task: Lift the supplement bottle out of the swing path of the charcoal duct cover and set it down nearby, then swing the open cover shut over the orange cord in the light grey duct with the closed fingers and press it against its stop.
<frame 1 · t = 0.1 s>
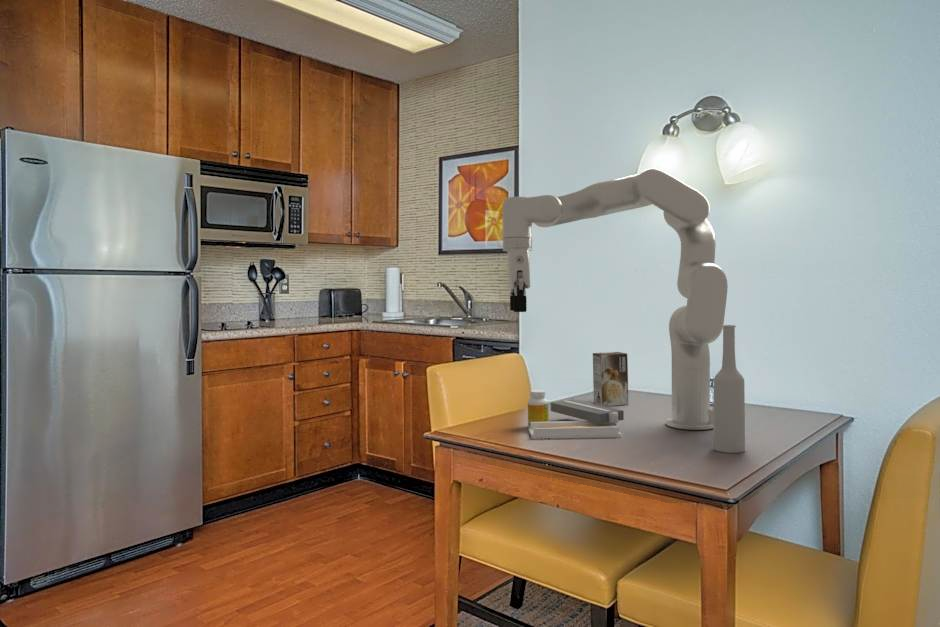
hand: (518, 311, 170), 31 cm above the table, fingers open, 9 cm apart
supplement bottle: (538, 428, 173), on the table
coffee box: (610, 404, 203), on the table
duct cover: (587, 410, 173), point 4 cm above the table, hinge at -60.0°
bottle: (728, 450, 147), on the table
duct base: (573, 433, 164), on the table
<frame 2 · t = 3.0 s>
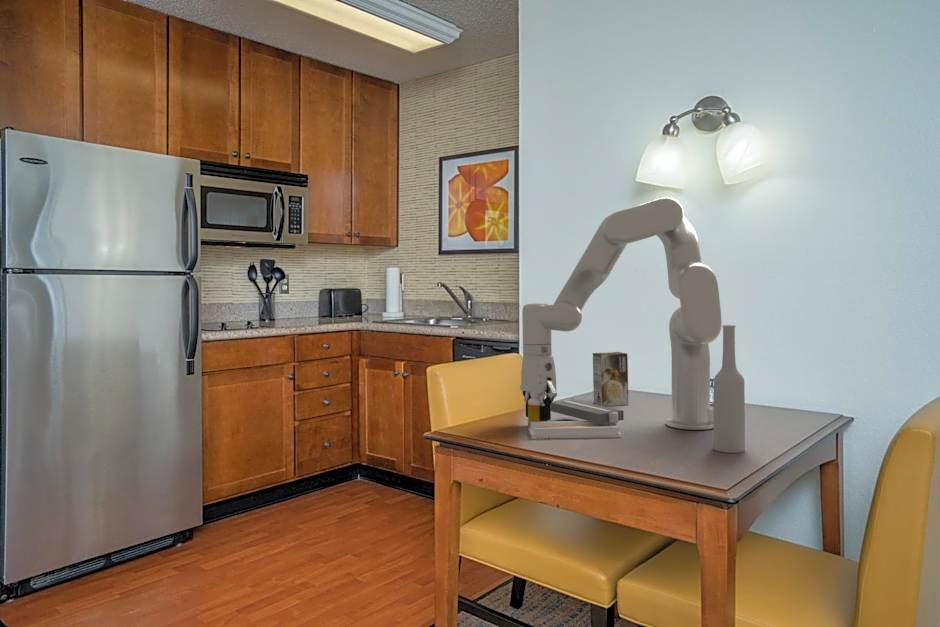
hand: (538, 417, 173), 3 cm above the table, fingers closed on supplement bottle, 5 cm apart
supplement bottle: (538, 427, 173), on the table, touching gripper
everything else where it was.
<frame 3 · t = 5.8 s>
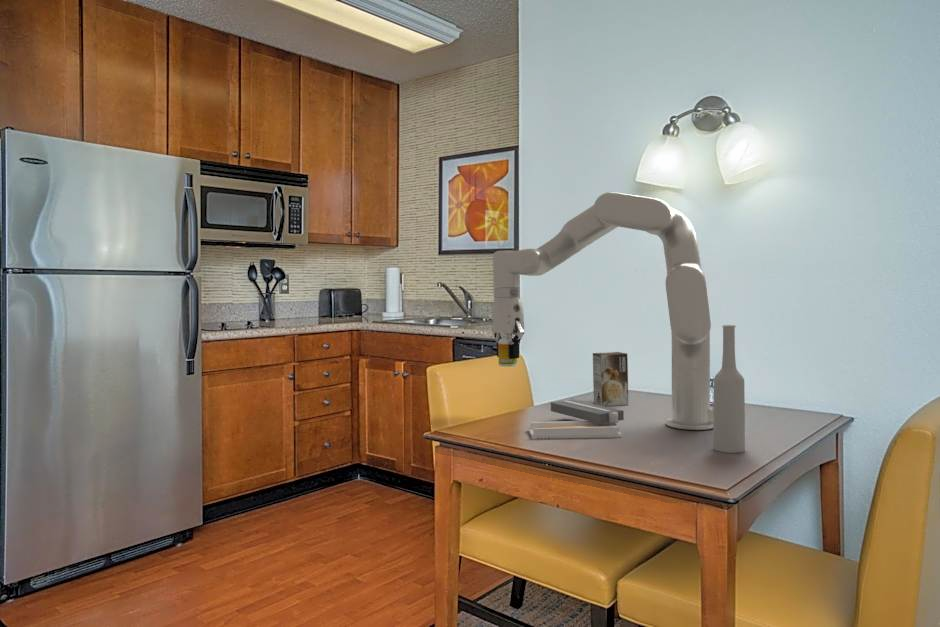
hand: (507, 356, 186), 17 cm above the table, fingers closed on supplement bottle, 5 cm apart
supplement bottle: (508, 366, 186), point 15 cm above the table, touching gripper
everything else where it was.
when the fingers open (3 cm above the table, at t = 8.8 s): supplement bottle stays where it is, on the table.
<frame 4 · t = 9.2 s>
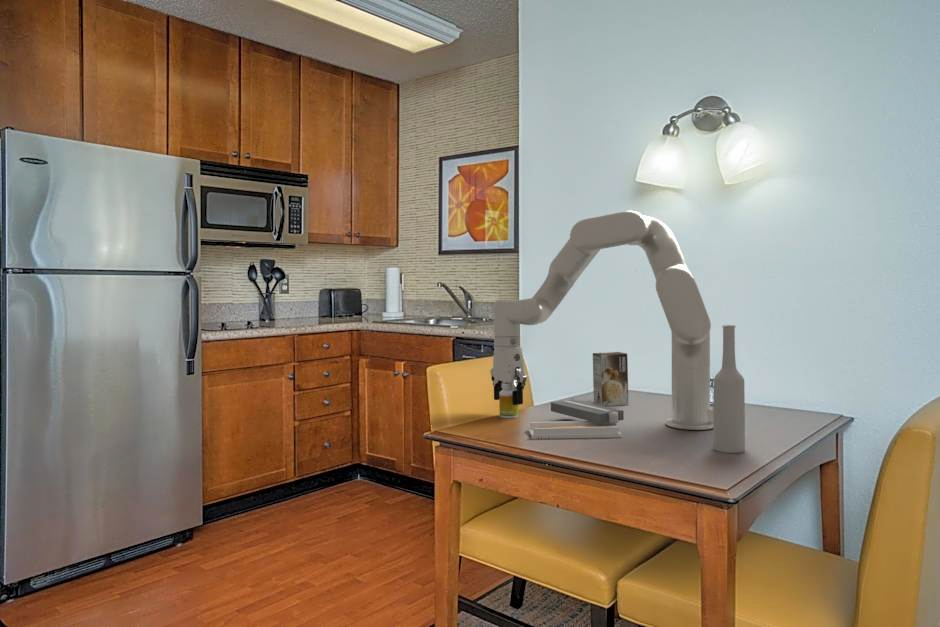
hand: (508, 401, 187), 4 cm above the table, fingers open, 9 cm apart
supplement bottle: (509, 417, 187), on the table
everything else where it was.
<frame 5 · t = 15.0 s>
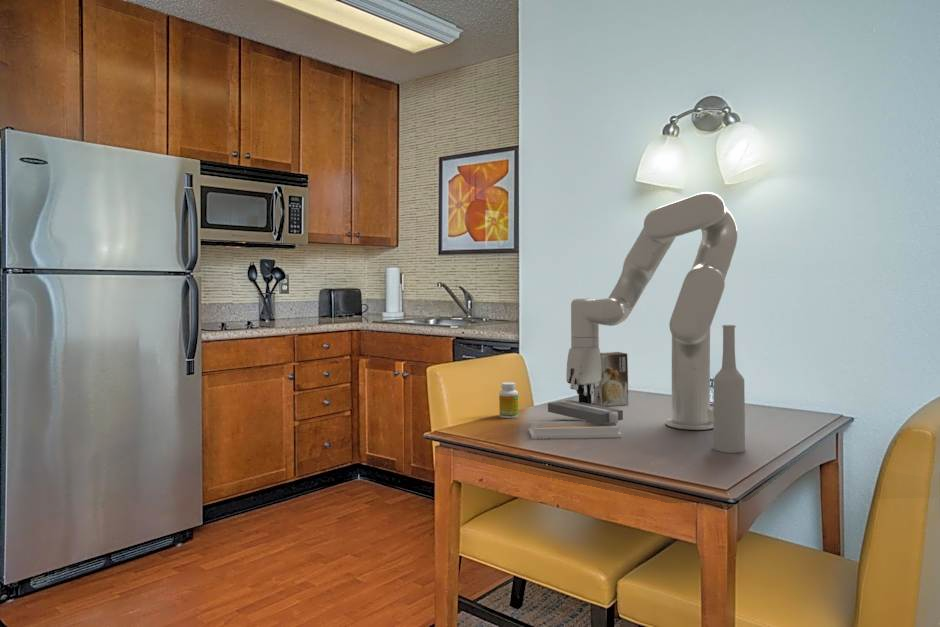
hand: (585, 408, 181), 3 cm above the table, fingers closed
duct cover: (586, 411, 172), point 4 cm above the table, hinge at -56.6°, touching gripper
everything else where it was.
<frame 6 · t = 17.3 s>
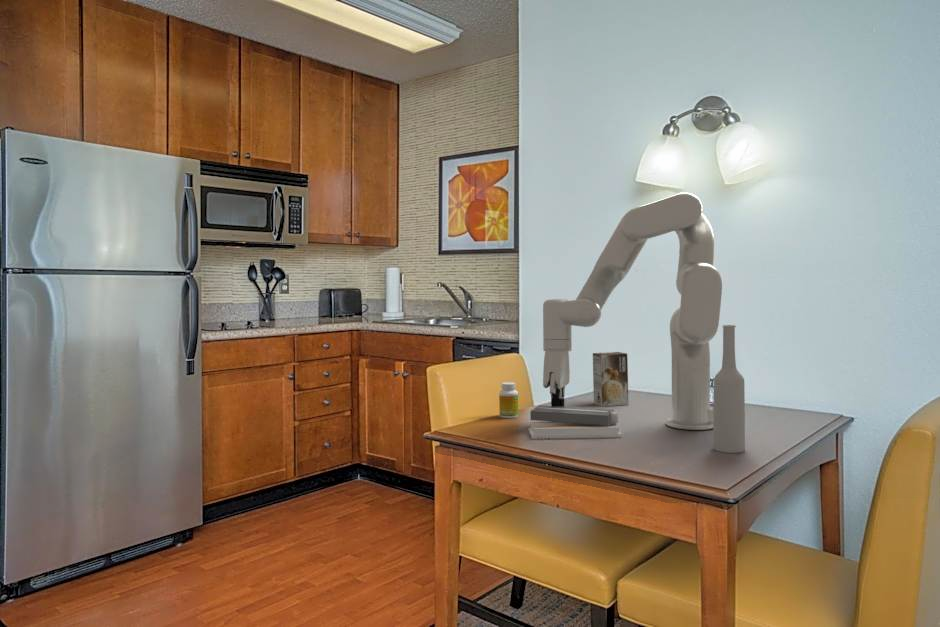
hand: (557, 412, 176), 3 cm above the table, fingers closed
duct cover: (575, 414, 168), point 4 cm above the table, hinge at -23.1°, touching gripper
everything else where it was.
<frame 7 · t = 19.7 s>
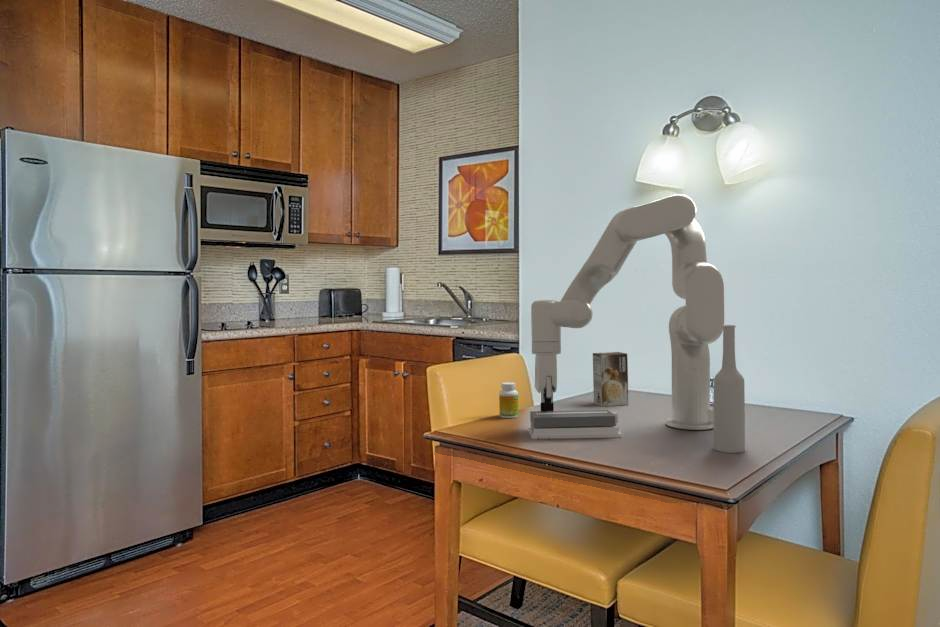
hand: (547, 417, 170), 3 cm above the table, fingers closed
duct cover: (575, 417, 164), point 4 cm above the table, hinge at 0.8°, touching gripper
everything else where it was.
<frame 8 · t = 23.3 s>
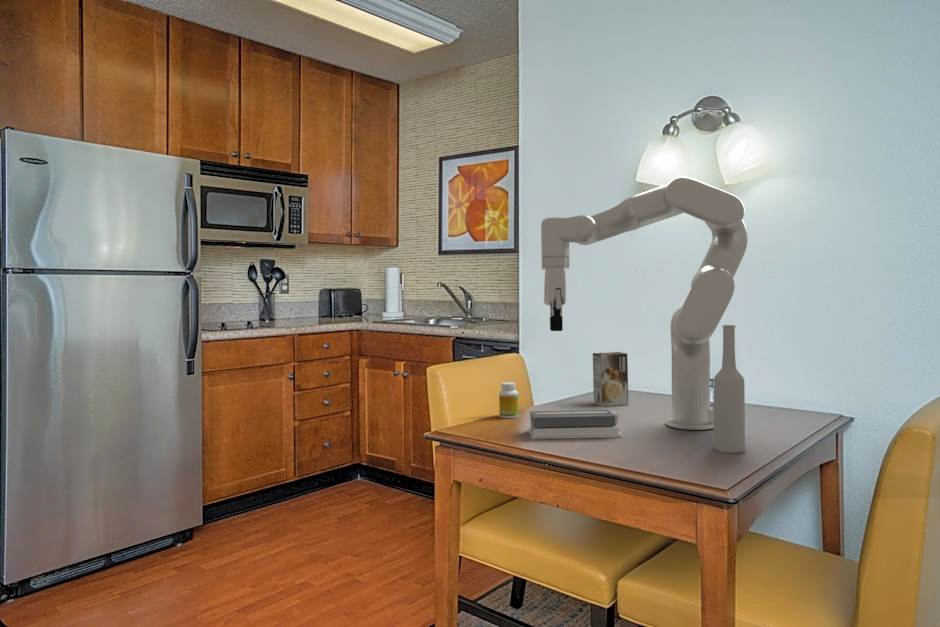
hand: (556, 330, 178), 25 cm above the table, fingers closed
duct cover: (574, 417, 164), point 4 cm above the table, hinge at 0.3°
everything else where it was.
at the end: duct cover at +0° (first picture: -60°); supplement bottle inside the target area (0.2 cm from its centre), on the table; supplement bottle tilted 0° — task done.
